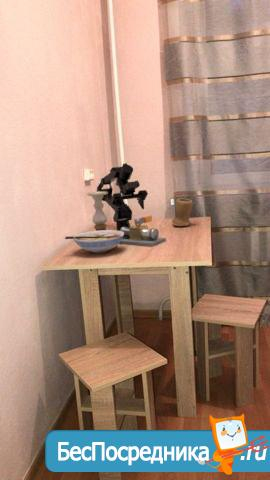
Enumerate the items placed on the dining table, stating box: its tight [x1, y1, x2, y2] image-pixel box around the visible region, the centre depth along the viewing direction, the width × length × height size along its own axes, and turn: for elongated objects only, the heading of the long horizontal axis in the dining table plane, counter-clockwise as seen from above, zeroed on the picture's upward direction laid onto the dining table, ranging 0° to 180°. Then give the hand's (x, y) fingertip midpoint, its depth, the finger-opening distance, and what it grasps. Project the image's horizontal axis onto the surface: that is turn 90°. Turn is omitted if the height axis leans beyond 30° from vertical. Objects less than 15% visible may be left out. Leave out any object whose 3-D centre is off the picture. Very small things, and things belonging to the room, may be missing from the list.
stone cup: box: [171, 197, 194, 227], centre depth 236 cm, size 15×12×15 cm
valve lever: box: [134, 214, 153, 226], centre depth 203 cm, size 12×3×3 cm, turn 145°
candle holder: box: [86, 191, 108, 231], centre depth 209 cm, size 11×11×24 cm
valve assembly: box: [118, 224, 167, 247], centre depth 200 cm, size 22×12×8 cm, turn 55°
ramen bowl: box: [64, 229, 124, 254], centre depth 188 cm, size 25×23×8 cm
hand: (135, 210), depth 211 cm, fingers open, 9 cm apart
